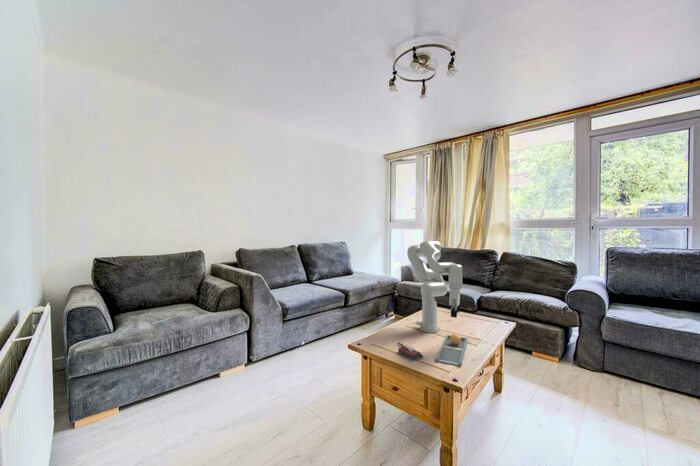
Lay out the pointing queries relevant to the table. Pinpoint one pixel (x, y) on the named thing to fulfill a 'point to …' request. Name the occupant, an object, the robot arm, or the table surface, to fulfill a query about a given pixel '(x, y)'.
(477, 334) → the table surface
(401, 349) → the walkie-talkie
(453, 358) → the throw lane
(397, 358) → the table surface
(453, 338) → the ball
